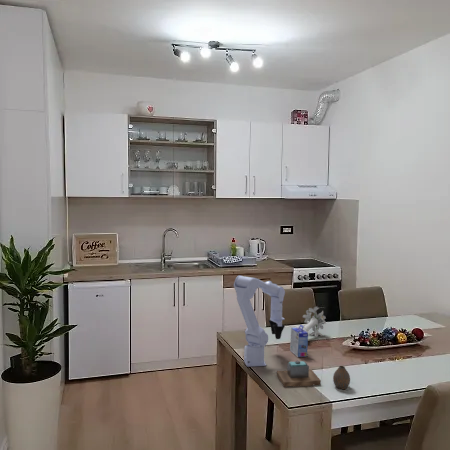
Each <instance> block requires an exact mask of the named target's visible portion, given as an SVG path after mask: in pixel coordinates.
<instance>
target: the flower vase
mask: <svg viewBox="0 0 450 450" xmlns="http://www.w3.org/2000/svg"><path fill="white" fill-rule="evenodd" d="M319 309H320V307H318V305H317V306H314V307H313V308H312V307H309V308H308V309H307V310H306V311H305V313H306V314H303V315H302V318H304V323H305V325H303V326H304V327H303V330H304V331H306V332H307V333H308V334H309V330H310V329H311V330H312V331H313V332H311V333H310V334H309V336H314V337H316V338H318V337H319V336H321V337H323V336H324V335H323V334H322V333H321V332H319V330H323V329H324V325H326V324H327V321H326V320H325V319H327V318H326V315H324V310H322V311H321V312H319V313H317V311H318V310H319ZM312 314H313V315H312ZM299 326H300V325H296V326H294V327H293V328H299ZM300 328H301V329H302V327H300Z"/></svg>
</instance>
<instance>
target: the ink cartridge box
mask: <svg viewBox="0 0 450 450" xmlns="http://www.w3.org/2000/svg"><path fill="white" fill-rule="evenodd" d="M298 326H299V328H294V327H291V329H290V343H289V345H290V347H289V351H290V353H292V354H294V356H296V357H297V358H307V357H308V343H309V332H308V333H307V332H306V331H304V330H303V327H304V326H305V325H302V324H300V325H298ZM300 327H302V329H301V328H300Z"/></svg>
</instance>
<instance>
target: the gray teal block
mask: <svg viewBox="0 0 450 450" xmlns="http://www.w3.org/2000/svg"><path fill="white" fill-rule="evenodd" d="M304 362H305V363H306V366H295V367H291V365H290V364H289V362H287V366H286V367H287V369H286V371H287V374H288V375H289V377H290V378H309V369H310V368H309V367H310V366H309V364H308V363H307V362H306V361H304Z"/></svg>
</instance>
